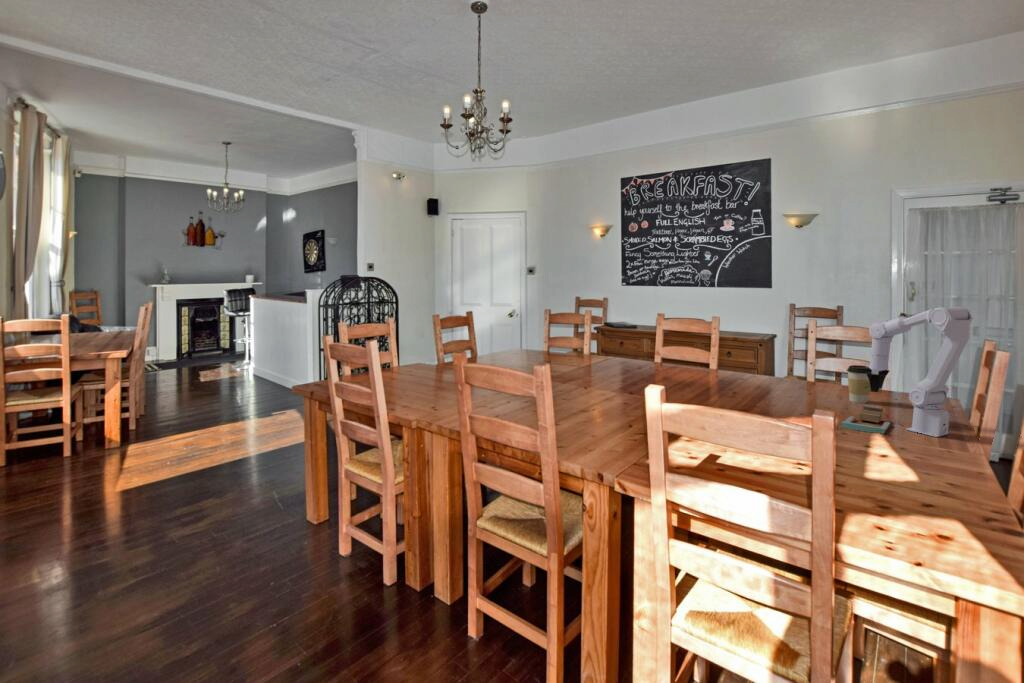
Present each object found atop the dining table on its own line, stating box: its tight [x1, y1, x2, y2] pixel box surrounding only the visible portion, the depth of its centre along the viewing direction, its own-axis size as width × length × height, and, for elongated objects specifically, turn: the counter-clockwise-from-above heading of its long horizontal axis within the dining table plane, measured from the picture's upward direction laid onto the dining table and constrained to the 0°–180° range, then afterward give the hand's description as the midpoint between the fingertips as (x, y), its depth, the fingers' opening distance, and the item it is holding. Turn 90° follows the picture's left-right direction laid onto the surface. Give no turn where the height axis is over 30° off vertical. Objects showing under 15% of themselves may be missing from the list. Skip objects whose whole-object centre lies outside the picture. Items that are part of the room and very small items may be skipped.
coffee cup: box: [846, 364, 872, 404], centre depth 225 cm, size 10×10×15 cm
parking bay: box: [840, 415, 891, 435], centre depth 190 cm, size 14×12×2 cm
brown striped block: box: [858, 406, 883, 425], centre depth 197 cm, size 7×6×4 cm
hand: (876, 389), depth 202 cm, fingers open, 7 cm apart
